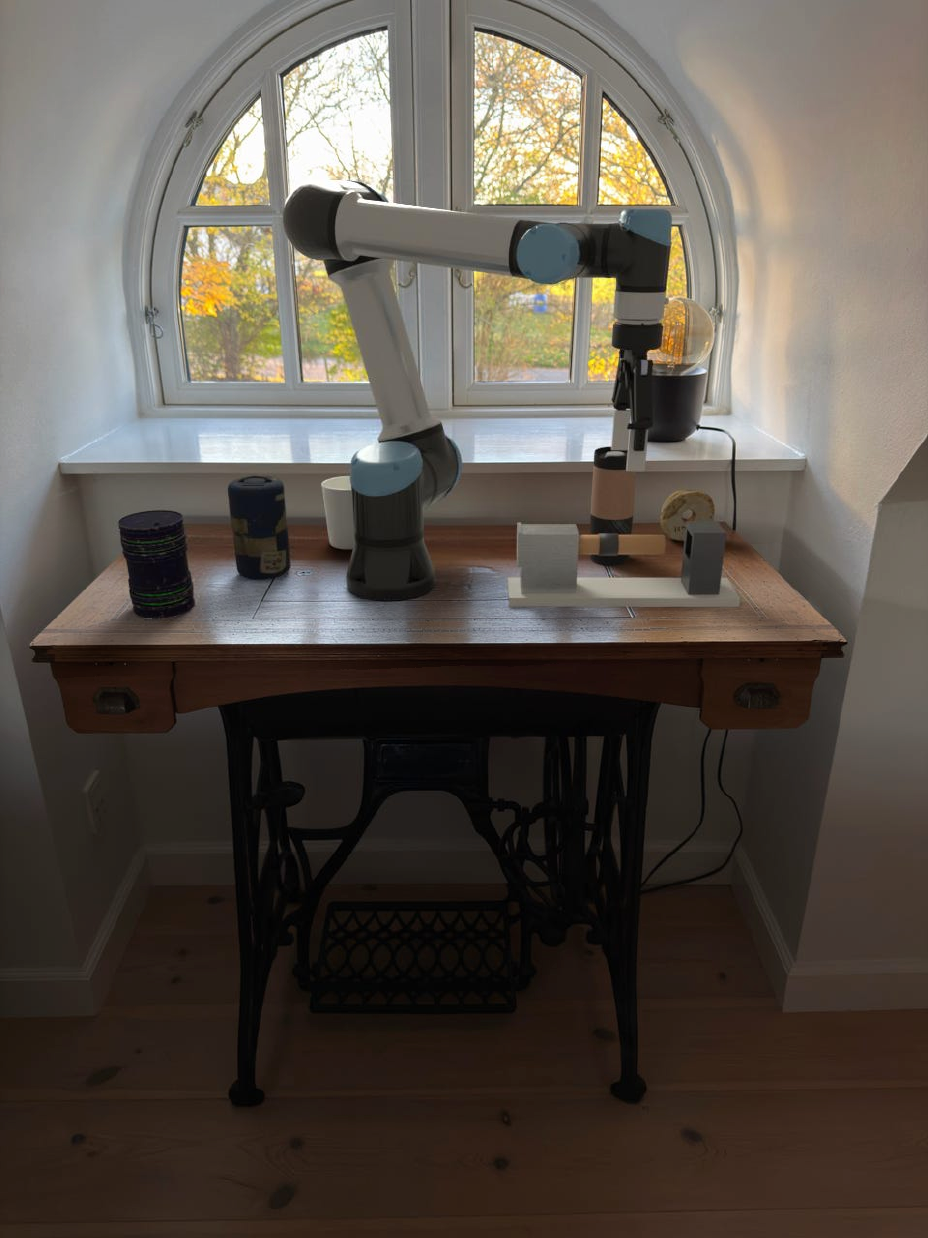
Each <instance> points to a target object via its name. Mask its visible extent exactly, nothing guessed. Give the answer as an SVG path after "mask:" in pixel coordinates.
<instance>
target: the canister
mask: <svg viewBox="0 0 928 1238" xmlns="http://www.w3.org/2000/svg"><path fill="white" fill-rule="evenodd" d="M227 494H228V506H229V507H228V508H229V515H230V516H229V517H230V524H231V525H230V526H231V531H232V539H233V549H234V550H233V551H234V557H235V567H236V571H237V573H238V574H239V575H240V576H241V577H242V578H244V579H248V580H253V581H267V580H273V579H277V578H280V577H282V576H284V575H285V574H288V572H289V571H290V570H291V568H292V567H291V565H292V563H291V555H290V540H289V539H290V537H289V527H288V518H287V508H286V507H287V506H286V494H285V485H284V482H283V481H282V480H281V479H280V478H277V477H275V476H270V475H258V474H257V475H256V474H254V475H253V474H252V475H248V476H244V477H239V478H236V479H233V480H232V481H231V482H230V483H229V484H228V486H227Z"/></svg>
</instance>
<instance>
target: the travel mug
mask: <svg viewBox="0 0 928 1238" xmlns="http://www.w3.org/2000/svg"><path fill="white" fill-rule="evenodd" d="M627 454H628V450H611V446H602V447H598V448H595V450H594V453H593V470H592V485H591V486H592V487H591V500H590V501H591V502H590V527H589V528H590V529H589V535H598V534H599V533H617V534H618V535H633V534H632V531H633V522H634V521H633V520H634V515H635V514H634V512H635V511H634V510H635V496H636V481H637V480H636V478H637V471H627V470H626V466H627ZM589 559H590V560H591V562H594V563H596V564H599V565H604V566H619V565H623V564H626V563H628V562H629V559H630V555H617V556H598V555H589Z"/></svg>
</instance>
